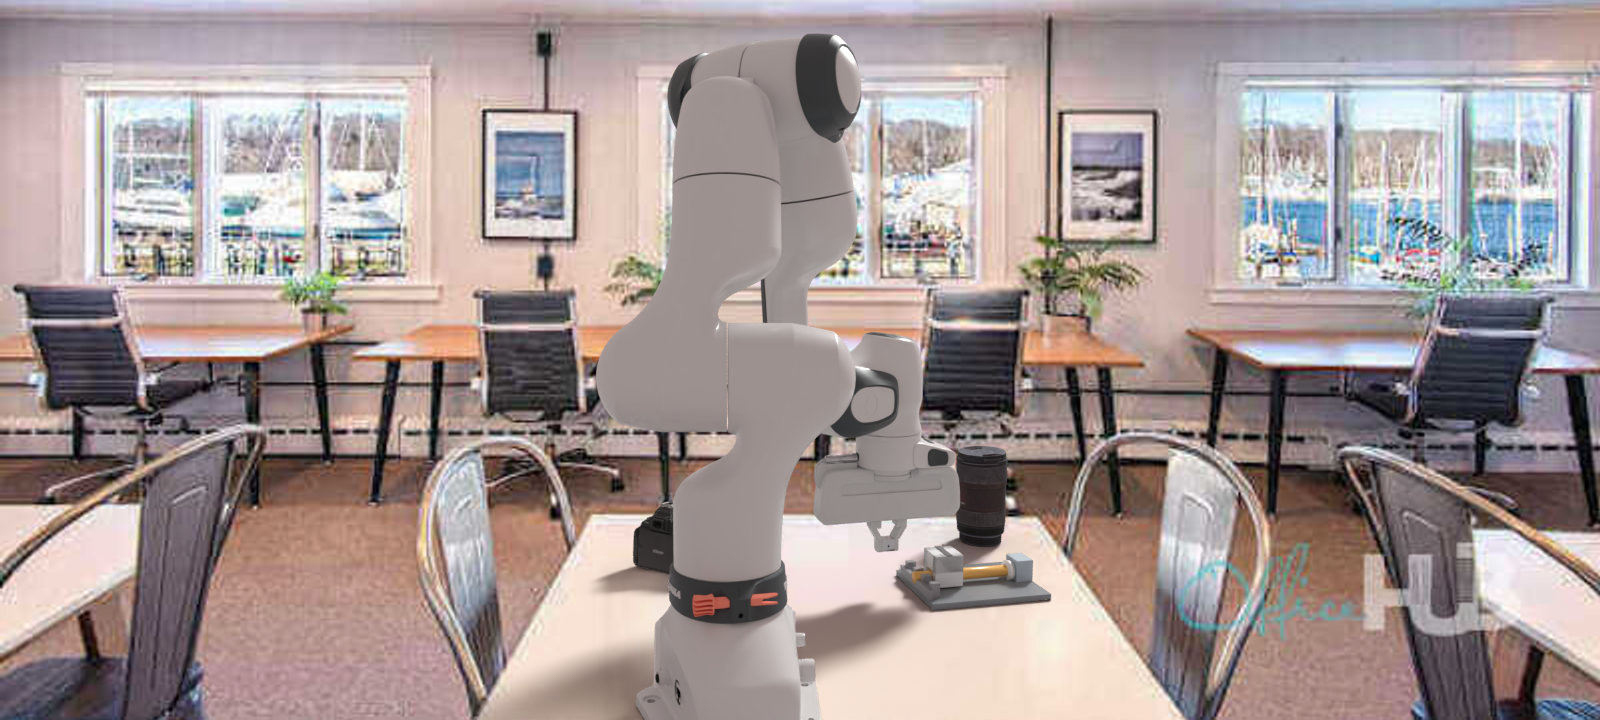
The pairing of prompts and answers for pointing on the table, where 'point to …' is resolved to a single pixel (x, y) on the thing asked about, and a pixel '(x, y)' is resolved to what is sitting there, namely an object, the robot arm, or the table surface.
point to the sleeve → (944, 565)
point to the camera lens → (981, 494)
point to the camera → (655, 540)
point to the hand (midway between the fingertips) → (886, 550)
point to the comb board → (977, 584)
